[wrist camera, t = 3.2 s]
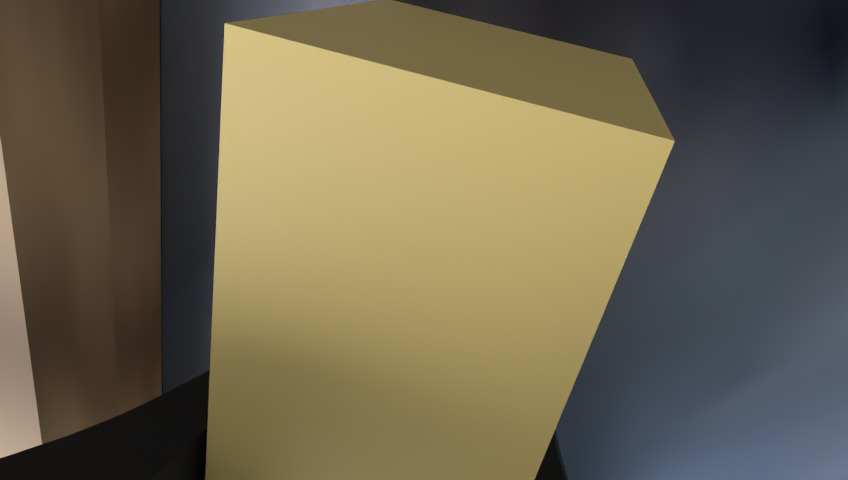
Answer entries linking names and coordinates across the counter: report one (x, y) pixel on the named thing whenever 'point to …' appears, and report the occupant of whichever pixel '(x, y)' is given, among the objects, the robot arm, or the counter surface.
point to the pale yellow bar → (413, 240)
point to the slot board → (78, 215)
